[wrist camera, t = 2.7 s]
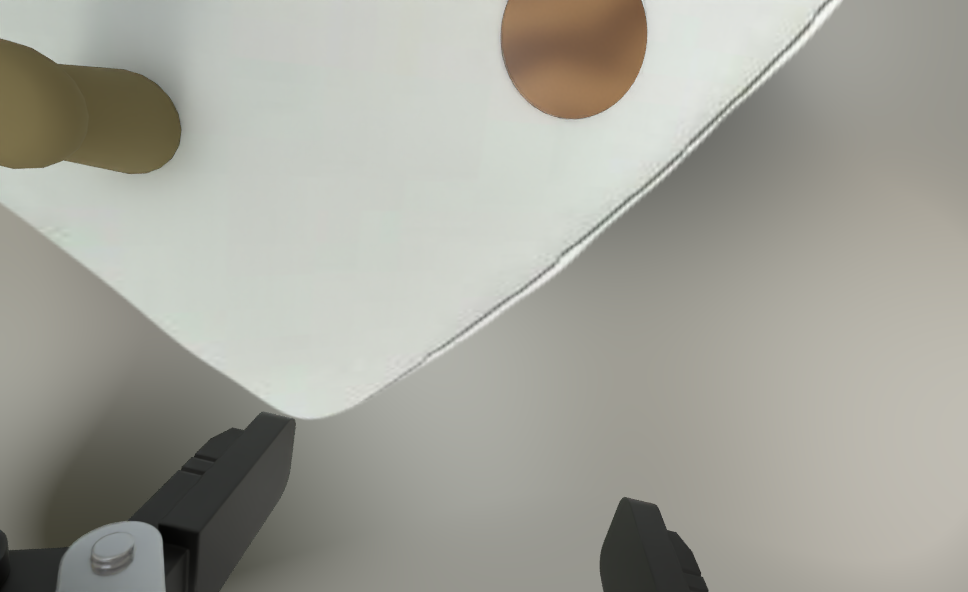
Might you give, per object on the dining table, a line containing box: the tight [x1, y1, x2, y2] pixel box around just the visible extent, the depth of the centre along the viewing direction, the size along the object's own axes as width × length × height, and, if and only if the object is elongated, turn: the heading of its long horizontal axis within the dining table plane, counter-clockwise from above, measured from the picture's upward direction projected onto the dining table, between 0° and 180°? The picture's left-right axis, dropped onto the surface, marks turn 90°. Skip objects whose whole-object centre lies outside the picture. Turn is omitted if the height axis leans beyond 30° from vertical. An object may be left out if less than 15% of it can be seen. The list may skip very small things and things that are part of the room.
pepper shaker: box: [0, 39, 181, 174], centre depth 24 cm, size 6×6×11 cm
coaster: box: [501, 0, 647, 119], centre depth 32 cm, size 10×10×1 cm
